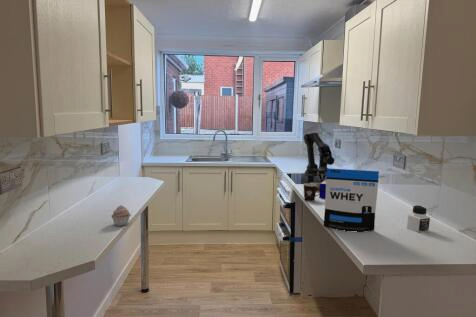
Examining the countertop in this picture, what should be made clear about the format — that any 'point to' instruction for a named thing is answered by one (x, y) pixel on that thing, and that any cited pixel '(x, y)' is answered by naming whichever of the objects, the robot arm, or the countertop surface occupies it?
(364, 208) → the protein powder
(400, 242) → the countertop surface
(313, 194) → the coffee mug
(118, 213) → the cupcake
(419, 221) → the medicine bottle
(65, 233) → the countertop surface
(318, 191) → the trap box
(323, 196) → the puzzle cube
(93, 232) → the countertop surface
